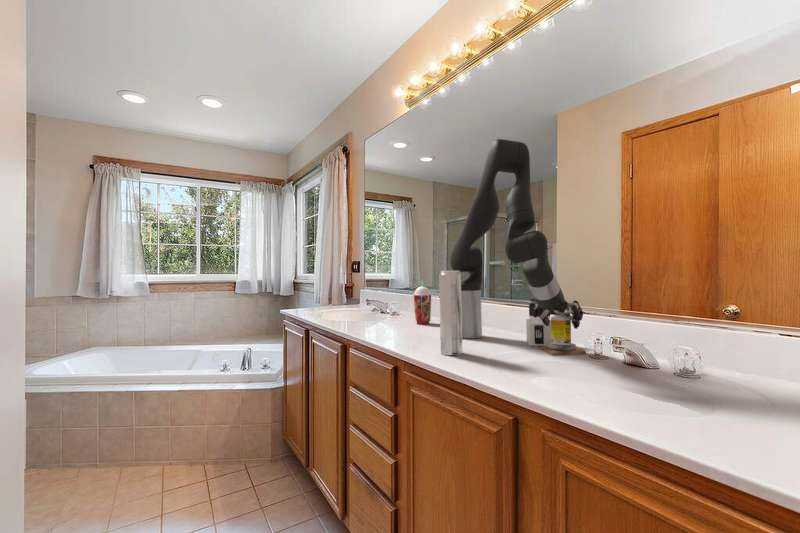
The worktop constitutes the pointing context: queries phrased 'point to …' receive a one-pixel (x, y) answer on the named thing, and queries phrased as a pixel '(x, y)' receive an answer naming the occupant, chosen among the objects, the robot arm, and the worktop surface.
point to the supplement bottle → (560, 330)
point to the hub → (561, 349)
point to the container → (537, 330)
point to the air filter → (450, 312)
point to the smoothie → (422, 304)
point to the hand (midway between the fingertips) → (562, 325)
